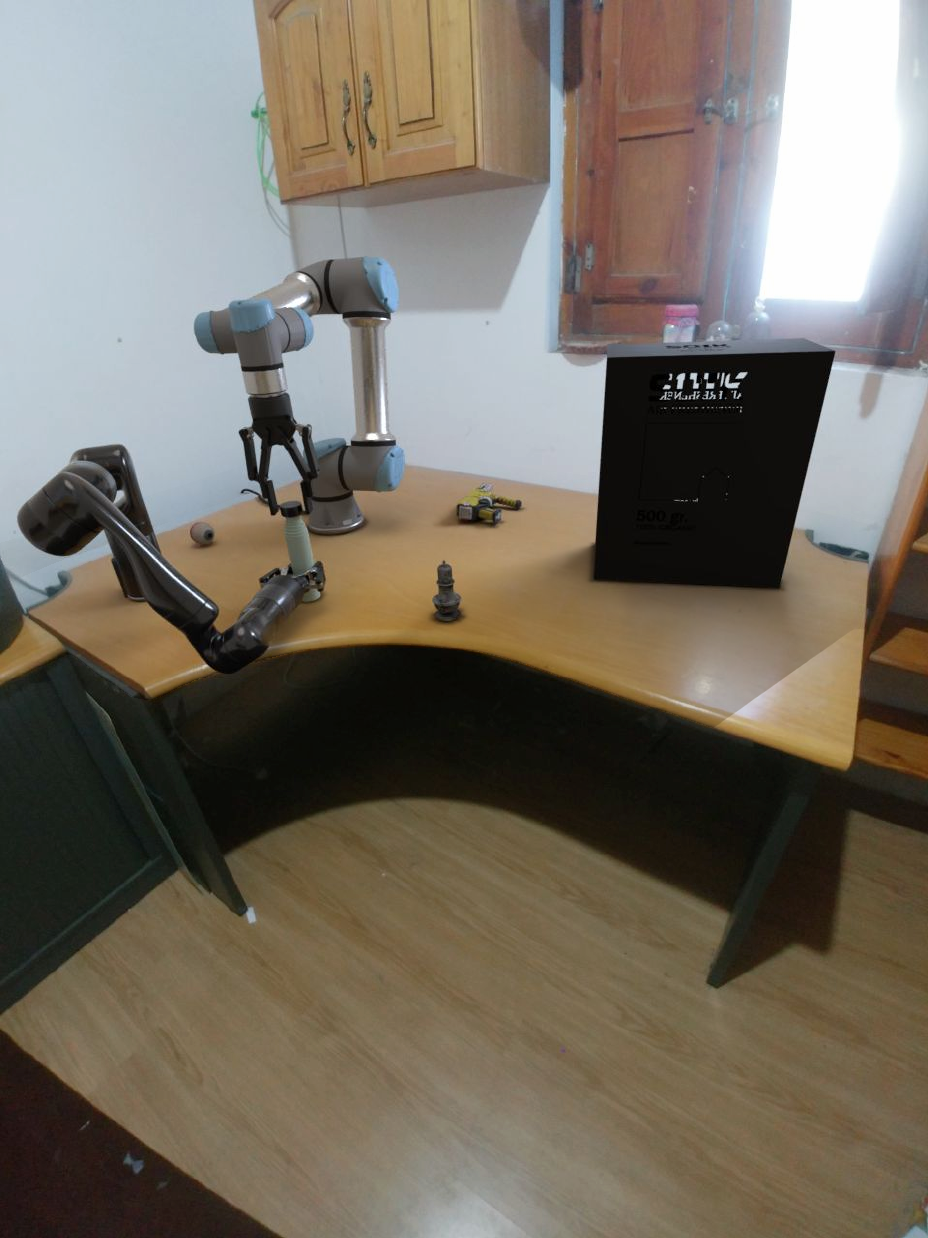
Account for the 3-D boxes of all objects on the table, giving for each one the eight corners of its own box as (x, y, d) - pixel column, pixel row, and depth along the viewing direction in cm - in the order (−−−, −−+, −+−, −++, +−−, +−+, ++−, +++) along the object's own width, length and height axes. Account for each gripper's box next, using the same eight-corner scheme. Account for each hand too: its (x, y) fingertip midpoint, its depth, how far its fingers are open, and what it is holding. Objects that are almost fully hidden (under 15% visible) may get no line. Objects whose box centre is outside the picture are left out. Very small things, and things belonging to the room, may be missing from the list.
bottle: (315, 589, 135) (297, 501, 125) (323, 597, 132) (306, 507, 121) (295, 596, 133) (275, 507, 123) (303, 604, 129) (284, 513, 119)
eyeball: (203, 550, 158) (197, 528, 155) (188, 545, 161) (182, 524, 158) (222, 541, 162) (216, 520, 159) (207, 538, 166) (201, 517, 163)
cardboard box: (759, 548, 141) (803, 338, 119) (779, 587, 124) (835, 350, 102) (595, 543, 149) (607, 344, 126) (593, 579, 132) (607, 357, 109)
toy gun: (529, 487, 179) (482, 480, 183) (508, 512, 159) (455, 503, 163) (528, 503, 181) (481, 495, 185) (506, 528, 161) (454, 519, 165)
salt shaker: (459, 622, 119) (455, 567, 113) (430, 620, 120) (425, 566, 114) (464, 608, 124) (461, 554, 118) (437, 606, 125) (432, 553, 119)
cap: (306, 514, 122) (304, 504, 121) (285, 519, 120) (283, 509, 119) (299, 508, 125) (297, 499, 124) (279, 513, 123) (277, 503, 122)
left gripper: (307, 585, 114) (337, 549, 128) (237, 583, 116) (274, 548, 130) (314, 619, 118) (342, 580, 132) (246, 617, 120) (281, 579, 134)
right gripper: (324, 387, 114) (343, 504, 125) (224, 392, 115) (252, 507, 126) (314, 394, 107) (335, 517, 119) (208, 399, 108) (238, 520, 120)
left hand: (308, 564), depth 131 cm, fingers closed on bottle, 4 cm apart
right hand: (292, 512), depth 122 cm, fingers open, 6 cm apart
